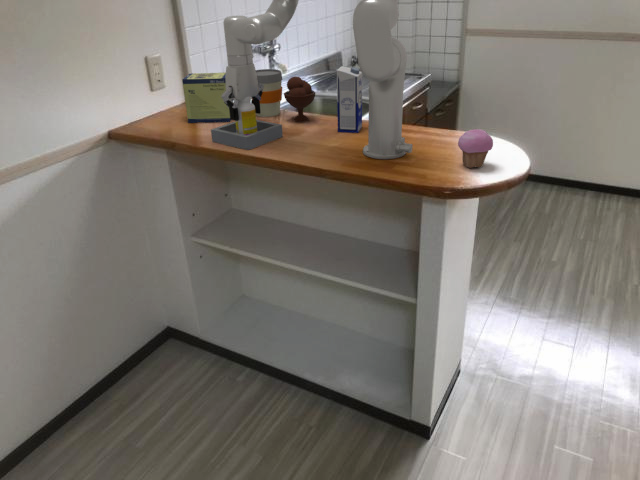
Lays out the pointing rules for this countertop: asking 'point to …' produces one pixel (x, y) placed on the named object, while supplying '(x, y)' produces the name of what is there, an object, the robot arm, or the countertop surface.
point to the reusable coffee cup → (270, 92)
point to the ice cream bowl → (299, 96)
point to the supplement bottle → (246, 117)
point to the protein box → (205, 97)
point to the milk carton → (349, 99)
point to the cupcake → (475, 147)
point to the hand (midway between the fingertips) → (245, 116)
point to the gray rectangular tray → (247, 142)
